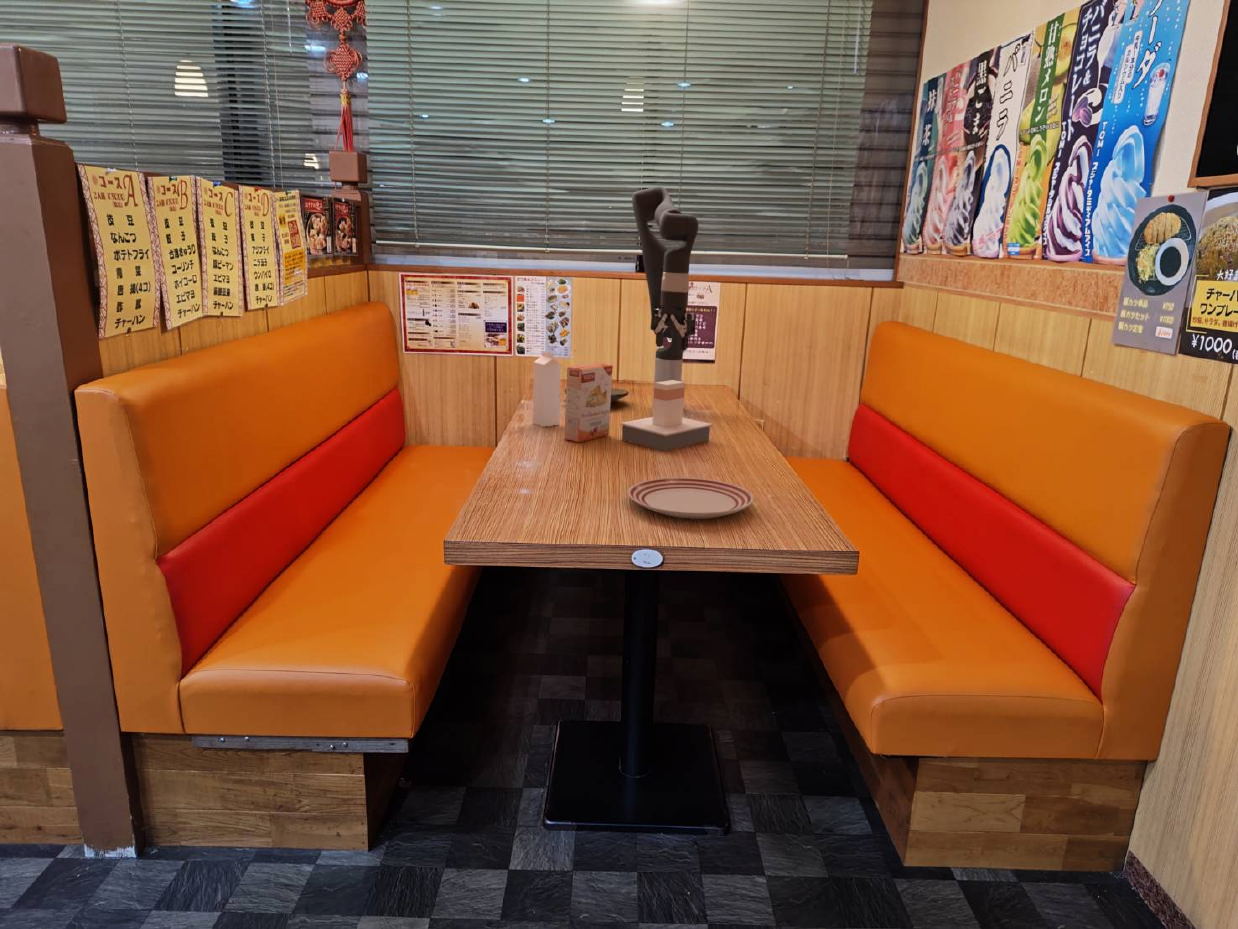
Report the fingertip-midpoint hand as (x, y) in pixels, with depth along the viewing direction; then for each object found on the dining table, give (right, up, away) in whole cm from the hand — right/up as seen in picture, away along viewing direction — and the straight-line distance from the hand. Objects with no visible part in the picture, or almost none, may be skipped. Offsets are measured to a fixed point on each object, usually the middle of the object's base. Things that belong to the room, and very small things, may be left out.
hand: (671, 348), depth 230 cm
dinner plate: (+1, -42, -50) cm, 65 cm away
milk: (-37, -20, +21) cm, 47 cm away
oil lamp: (-23, -11, +58) cm, 63 cm away
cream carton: (-1, -21, +6) cm, 22 cm away
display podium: (-1, -26, +7) cm, 27 cm away
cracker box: (-24, -25, +6) cm, 35 cm away
